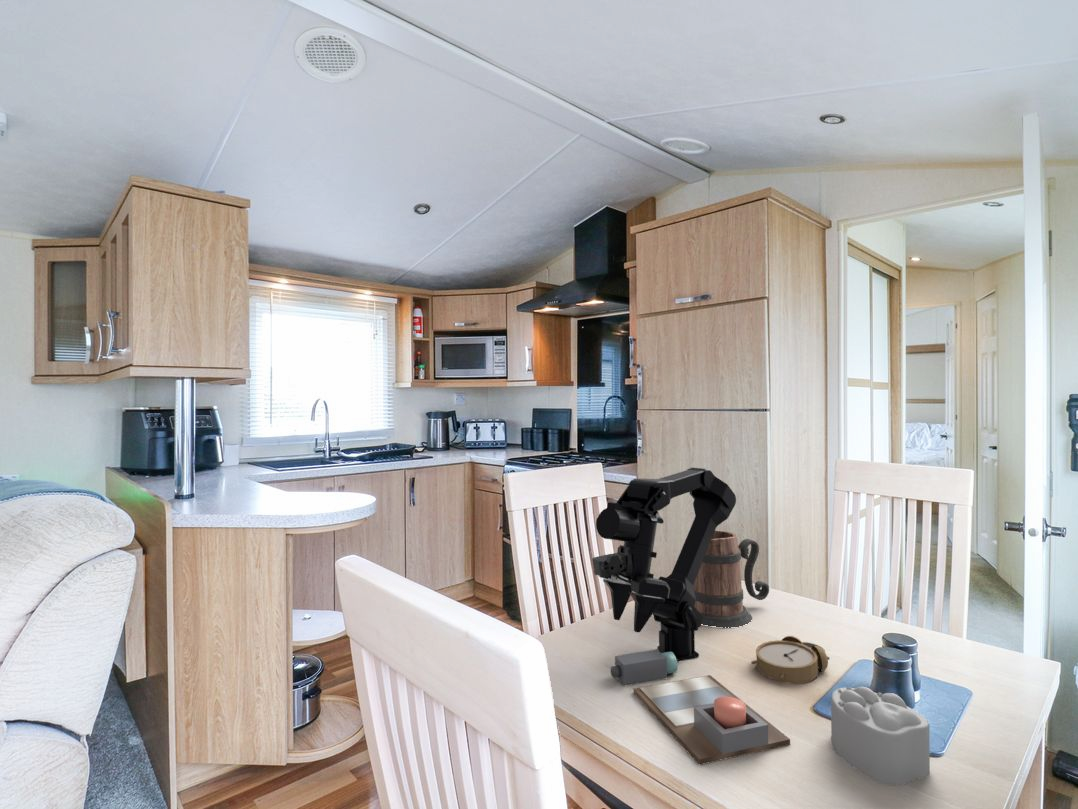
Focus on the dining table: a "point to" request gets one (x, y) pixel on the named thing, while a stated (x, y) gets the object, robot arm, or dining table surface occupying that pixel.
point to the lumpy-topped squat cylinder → (880, 735)
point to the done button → (729, 712)
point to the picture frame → (677, 715)
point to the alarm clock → (790, 660)
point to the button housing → (731, 730)
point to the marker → (643, 666)
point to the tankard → (726, 581)
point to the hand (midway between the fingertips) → (626, 625)
